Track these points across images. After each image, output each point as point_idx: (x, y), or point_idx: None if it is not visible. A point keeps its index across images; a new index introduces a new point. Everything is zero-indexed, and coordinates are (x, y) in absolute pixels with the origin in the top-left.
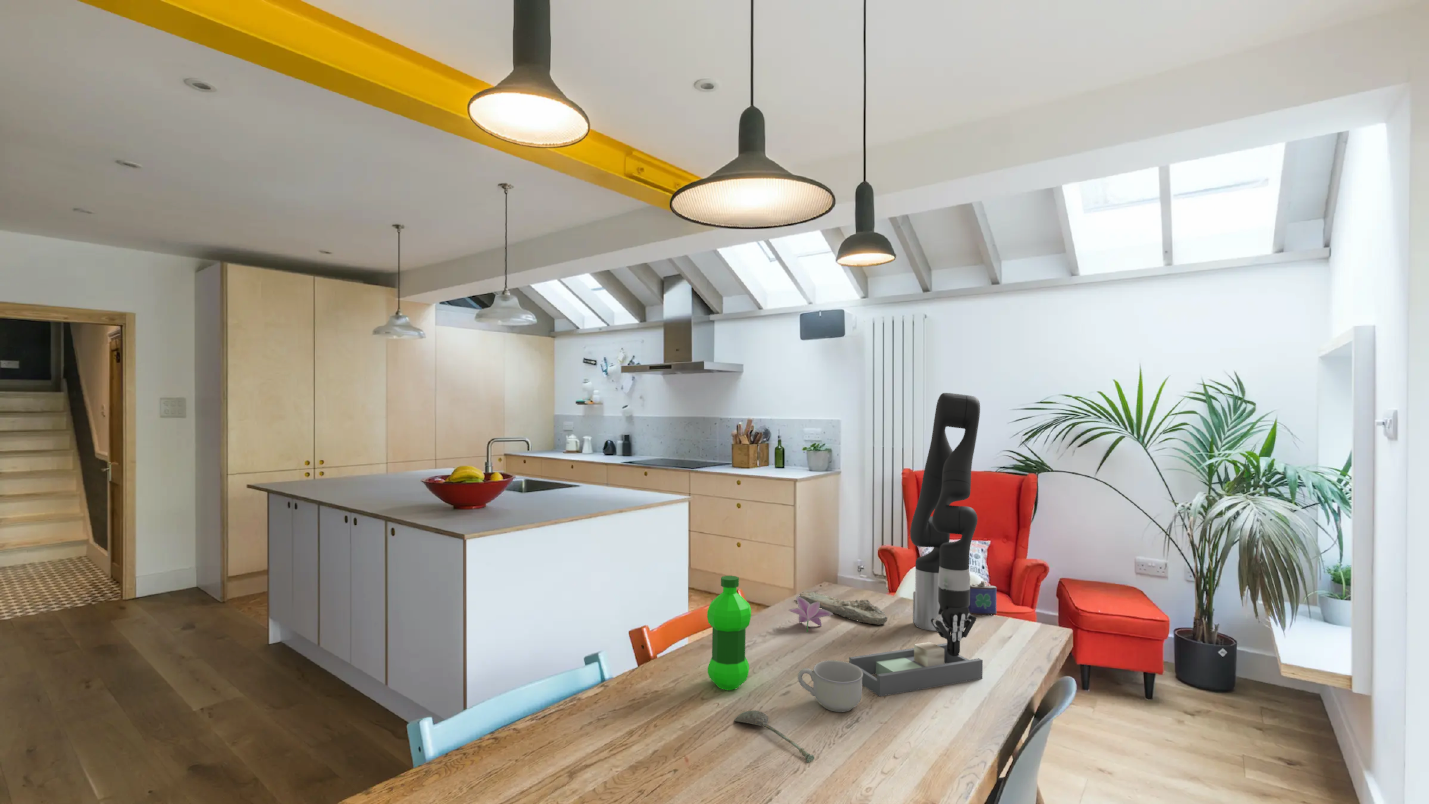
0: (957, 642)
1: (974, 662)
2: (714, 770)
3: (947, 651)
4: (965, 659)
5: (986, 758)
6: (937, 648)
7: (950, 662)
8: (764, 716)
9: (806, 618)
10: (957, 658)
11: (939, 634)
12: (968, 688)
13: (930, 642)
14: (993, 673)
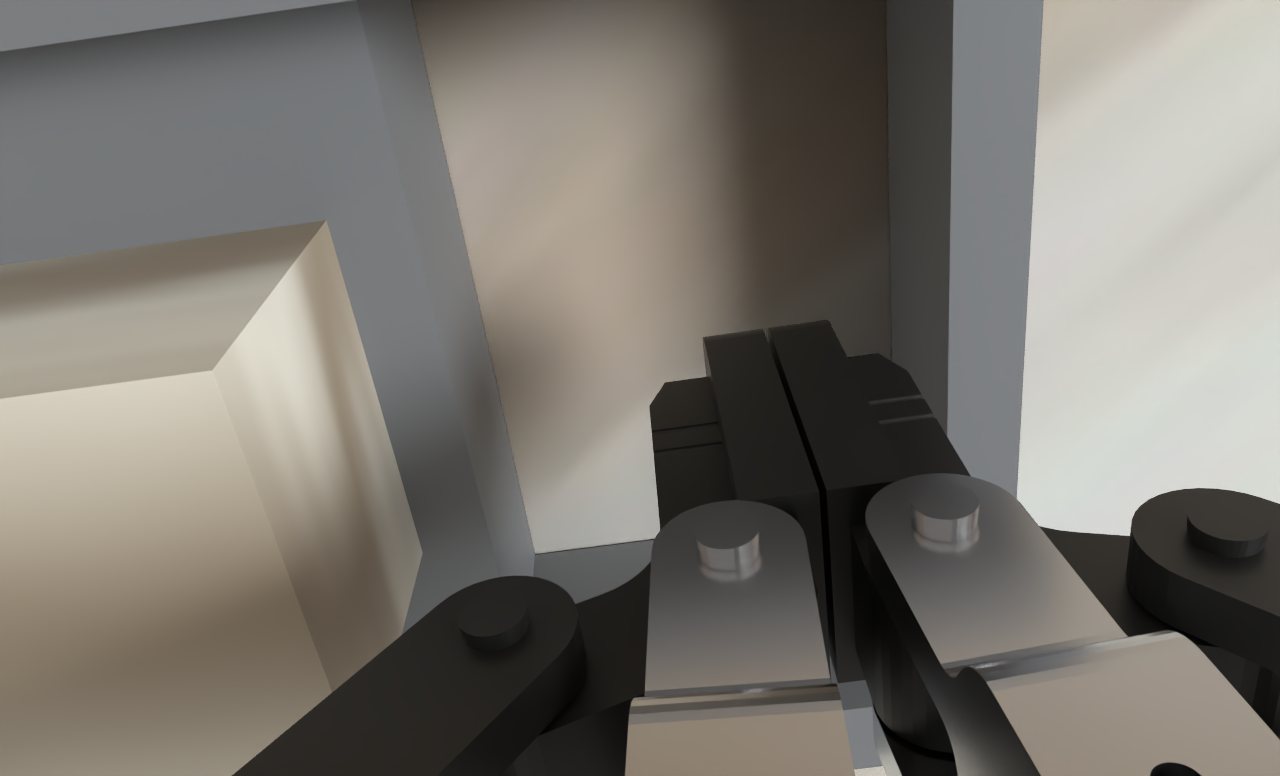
0: (852, 666)
1: (863, 754)
2: None
3: (657, 398)
4: (966, 411)
5: None
6: (205, 755)
7: (897, 1)
8: None
9: None
10: (935, 225)
11: (374, 678)
12: None
13: (195, 409)
14: (1244, 441)
